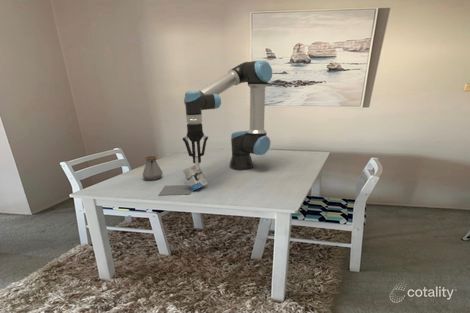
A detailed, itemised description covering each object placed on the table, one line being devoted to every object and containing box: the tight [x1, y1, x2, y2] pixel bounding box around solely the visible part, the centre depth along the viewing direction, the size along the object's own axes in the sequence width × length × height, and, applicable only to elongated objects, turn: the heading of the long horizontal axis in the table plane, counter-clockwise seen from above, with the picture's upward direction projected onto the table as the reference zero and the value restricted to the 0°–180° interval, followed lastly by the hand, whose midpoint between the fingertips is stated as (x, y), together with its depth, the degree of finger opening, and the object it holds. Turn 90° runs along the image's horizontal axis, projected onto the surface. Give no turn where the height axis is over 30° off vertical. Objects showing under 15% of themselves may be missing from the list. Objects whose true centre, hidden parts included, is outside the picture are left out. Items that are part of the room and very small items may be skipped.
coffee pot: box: [142, 155, 164, 181], centre depth 172 cm, size 21×12×15 cm, turn 18°
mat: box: [158, 184, 193, 197], centre depth 157 cm, size 16×14×1 cm
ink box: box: [182, 164, 208, 192], centre depth 157 cm, size 8×5×12 cm, turn 149°
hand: (197, 169), depth 154 cm, fingers closed
